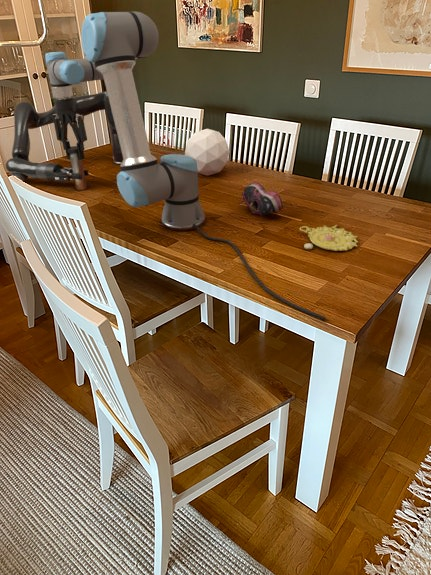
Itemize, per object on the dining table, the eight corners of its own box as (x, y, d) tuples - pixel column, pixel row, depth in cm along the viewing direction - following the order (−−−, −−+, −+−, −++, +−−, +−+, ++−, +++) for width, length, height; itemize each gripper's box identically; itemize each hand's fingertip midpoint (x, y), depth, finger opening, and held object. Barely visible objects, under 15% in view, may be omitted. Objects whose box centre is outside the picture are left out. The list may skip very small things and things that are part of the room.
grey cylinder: (88, 186, 190) (81, 149, 182) (85, 189, 187) (78, 152, 178) (77, 186, 190) (70, 149, 182) (75, 190, 187) (67, 152, 178)
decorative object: (343, 255, 128) (285, 234, 139) (342, 262, 130) (284, 241, 140) (372, 230, 142) (317, 213, 152) (371, 237, 143) (316, 219, 153)
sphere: (213, 191, 200) (211, 164, 181) (179, 169, 205) (173, 141, 186) (238, 162, 205) (238, 133, 186) (203, 141, 209) (200, 111, 191)
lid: (79, 149, 183) (79, 145, 182) (82, 152, 179) (81, 148, 178) (66, 151, 181) (65, 147, 180) (69, 154, 177) (68, 150, 176)
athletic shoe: (254, 181, 170) (227, 189, 167) (283, 176, 151) (253, 185, 147) (260, 210, 173) (234, 218, 170) (290, 209, 154) (261, 219, 150)
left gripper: (61, 175, 197) (95, 178, 192) (41, 186, 185) (77, 189, 181) (57, 158, 193) (92, 161, 188) (37, 168, 181) (73, 171, 177)
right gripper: (89, 96, 169) (100, 157, 182) (49, 95, 175) (62, 154, 187) (78, 100, 164) (90, 162, 176) (37, 98, 169) (51, 159, 181)
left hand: (84, 175), depth 185 cm, fingers closed on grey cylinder, 4 cm apart
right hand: (75, 158), depth 182 cm, fingers closed on lid, 5 cm apart
